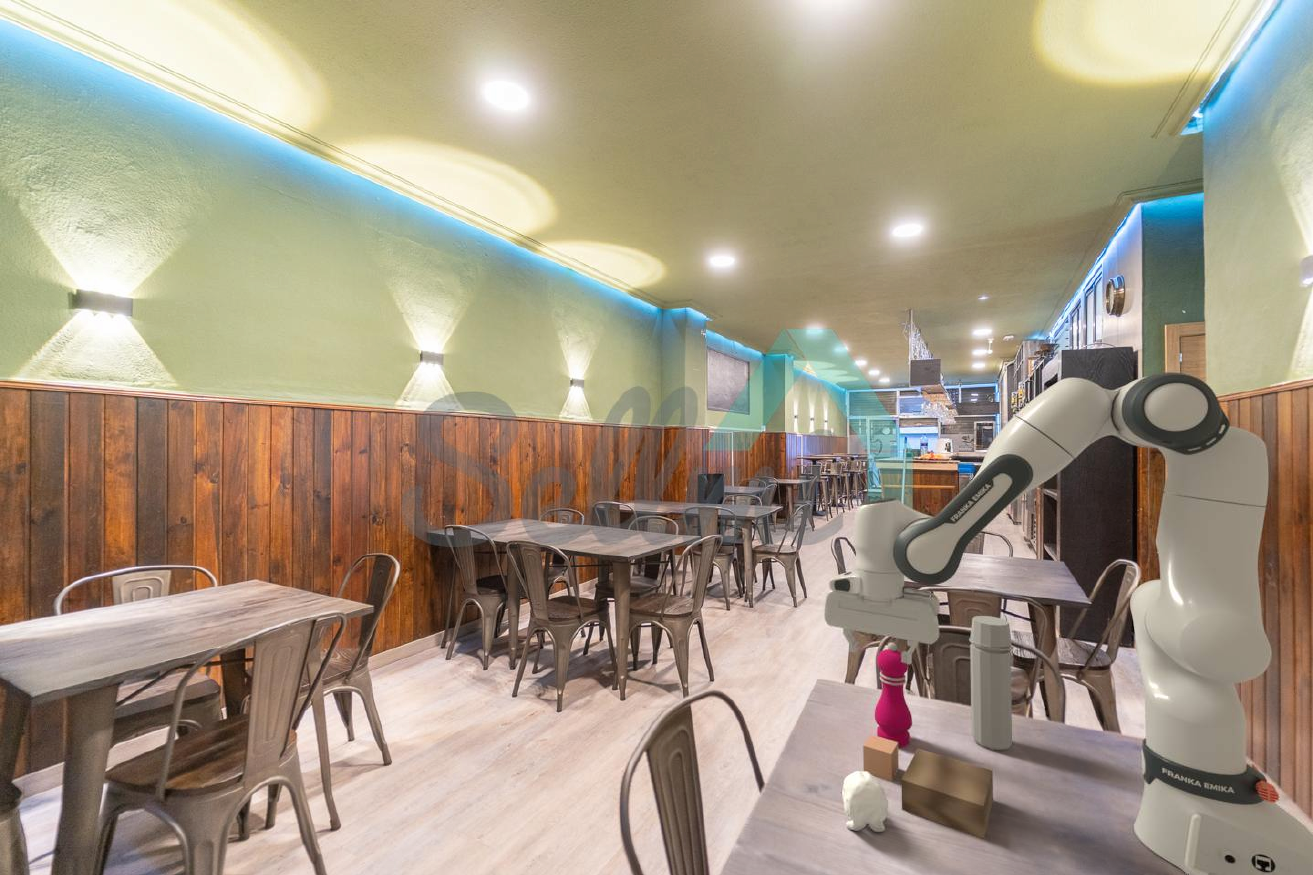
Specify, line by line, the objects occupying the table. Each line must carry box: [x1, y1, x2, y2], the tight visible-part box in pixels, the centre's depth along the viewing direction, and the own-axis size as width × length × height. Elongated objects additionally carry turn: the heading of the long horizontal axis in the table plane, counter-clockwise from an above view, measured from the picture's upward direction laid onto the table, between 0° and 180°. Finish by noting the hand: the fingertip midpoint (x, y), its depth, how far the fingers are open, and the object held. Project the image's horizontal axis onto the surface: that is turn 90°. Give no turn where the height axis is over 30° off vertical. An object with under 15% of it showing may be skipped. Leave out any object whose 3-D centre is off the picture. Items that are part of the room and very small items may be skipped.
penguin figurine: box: [840, 770, 889, 833], centre depth 93 cm, size 6×8×12 cm
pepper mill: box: [874, 642, 913, 748], centre depth 118 cm, size 7×7×20 cm
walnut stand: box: [900, 748, 994, 839], centre depth 96 cm, size 12×12×5 cm
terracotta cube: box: [862, 734, 900, 782], centre depth 107 cm, size 5×5×5 cm
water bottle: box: [968, 615, 1014, 752], centre depth 117 cm, size 9×8×25 cm
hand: (879, 657), depth 107 cm, fingers open, 8 cm apart
